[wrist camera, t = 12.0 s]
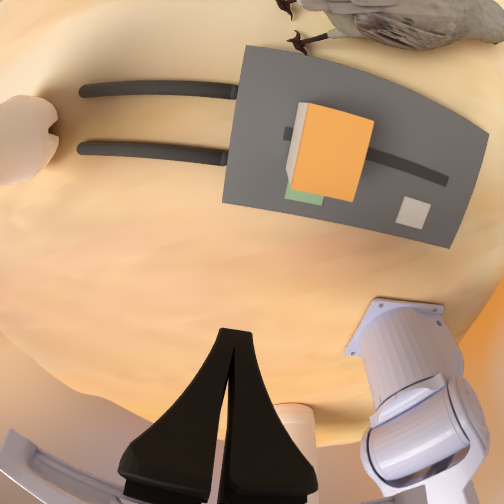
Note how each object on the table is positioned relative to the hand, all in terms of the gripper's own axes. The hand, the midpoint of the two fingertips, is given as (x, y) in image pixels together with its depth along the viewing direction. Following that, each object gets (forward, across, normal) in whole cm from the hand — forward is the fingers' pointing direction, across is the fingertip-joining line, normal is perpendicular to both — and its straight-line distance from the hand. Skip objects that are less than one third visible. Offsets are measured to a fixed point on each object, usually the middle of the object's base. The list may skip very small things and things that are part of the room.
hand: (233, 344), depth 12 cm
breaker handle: (+8, -3, -8) cm, 12 cm away
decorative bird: (+11, -7, -19) cm, 23 cm away
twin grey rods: (+10, +8, -8) cm, 15 cm away
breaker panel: (+10, -7, -8) cm, 15 cm away
